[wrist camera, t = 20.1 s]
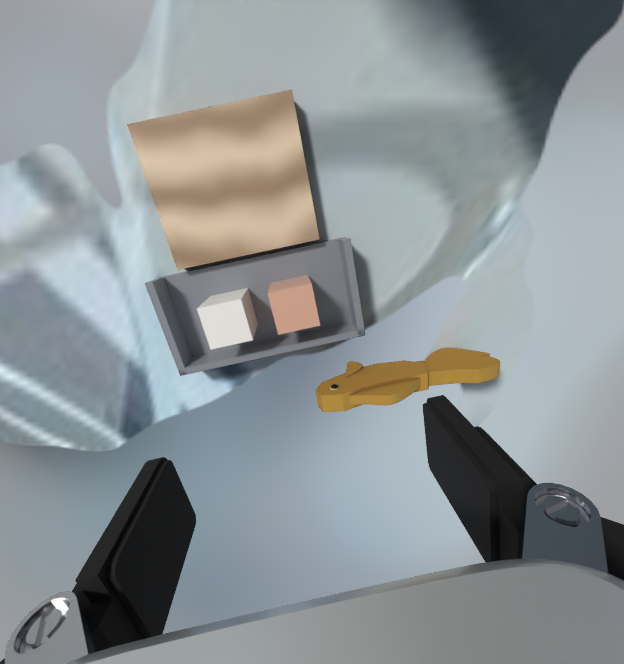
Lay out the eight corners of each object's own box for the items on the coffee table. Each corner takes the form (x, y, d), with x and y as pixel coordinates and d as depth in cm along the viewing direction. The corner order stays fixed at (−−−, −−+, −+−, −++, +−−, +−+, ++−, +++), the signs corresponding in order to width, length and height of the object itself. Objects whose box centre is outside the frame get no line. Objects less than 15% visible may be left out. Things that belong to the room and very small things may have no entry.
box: (159, 277, 36) (144, 283, 32) (343, 237, 36) (350, 238, 32) (190, 361, 40) (180, 375, 36) (357, 325, 40) (365, 335, 36)
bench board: (136, 130, 31) (127, 124, 29) (291, 98, 31) (291, 89, 30) (183, 267, 36) (177, 269, 34) (318, 238, 36) (319, 239, 34)
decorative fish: (307, 392, 41) (335, 435, 32) (304, 371, 40) (332, 410, 31) (447, 352, 46) (505, 380, 37) (447, 333, 45) (507, 357, 36)
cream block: (210, 296, 36) (196, 308, 31) (247, 287, 36) (241, 298, 31) (221, 331, 38) (210, 349, 32) (257, 323, 38) (252, 340, 32)
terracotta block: (270, 282, 36) (267, 293, 31) (307, 274, 36) (311, 283, 31) (279, 318, 38) (278, 334, 32) (315, 310, 38) (320, 325, 32)
